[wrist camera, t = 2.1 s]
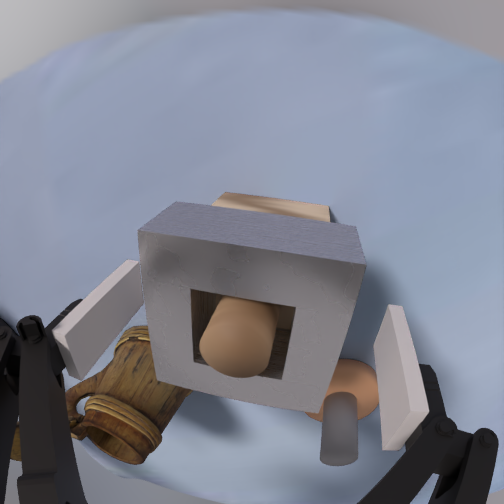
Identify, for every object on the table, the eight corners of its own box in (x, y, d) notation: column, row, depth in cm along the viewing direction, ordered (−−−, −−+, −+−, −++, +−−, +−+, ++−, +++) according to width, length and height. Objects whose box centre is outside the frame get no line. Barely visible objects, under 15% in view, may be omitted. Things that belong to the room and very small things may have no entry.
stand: (221, 280, 25) (164, 386, 15) (225, 192, 22) (149, 267, 12) (312, 295, 24) (301, 415, 14) (328, 206, 21) (335, 298, 11)
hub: (296, 403, 29) (286, 471, 22) (310, 353, 26) (302, 430, 19) (364, 411, 28) (366, 477, 21) (388, 363, 25) (399, 437, 18)
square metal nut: (181, 336, 20) (157, 380, 17) (176, 201, 16) (137, 230, 13) (321, 363, 19) (318, 413, 15) (355, 226, 15) (366, 264, 11)
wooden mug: (81, 300, 29) (-32, 422, 13) (204, 340, 28) (118, 522, 12) (94, 359, 33) (12, 471, 17) (200, 398, 32) (139, 543, 16)
